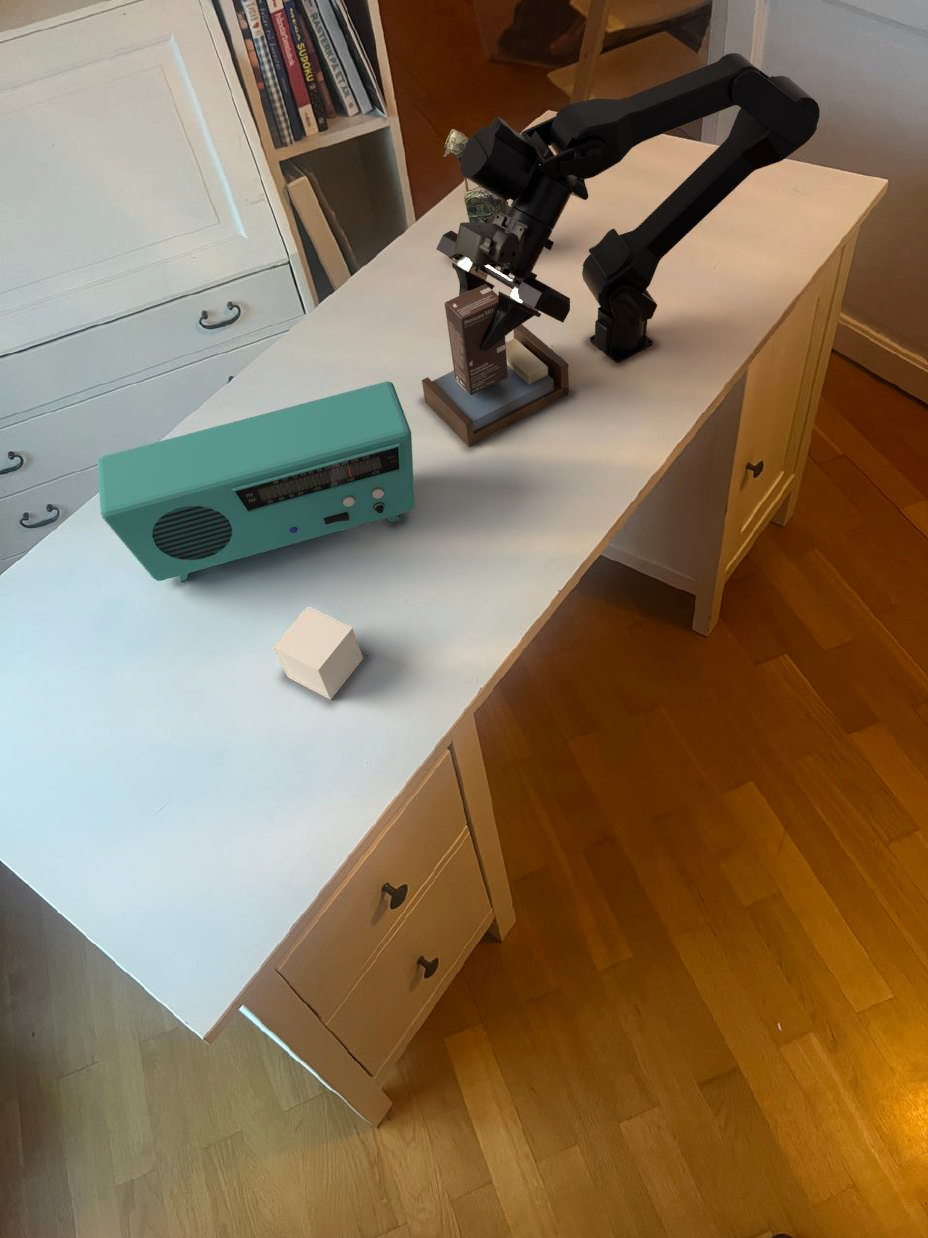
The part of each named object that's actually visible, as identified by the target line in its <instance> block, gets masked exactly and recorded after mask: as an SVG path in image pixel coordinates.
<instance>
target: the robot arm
mask: <svg viewBox="0 0 928 1238" xmlns="http://www.w3.org/2000/svg"><path fill="white" fill-rule="evenodd" d="M735 106H737V107H739V108H740V109H739V110H738V112H737V113H736V117H735V120H734V122H733V124H732V127H731V129H730V132H729V134H728V136H727V137H726V139H725V140H724V141H723V142H722V143H721V144H720V145H719V146H717V148H716V149H715V150H714V151H713V152H712V153H711V154H710V155H709V156H708V157H707V158H706V159H705V160H704V161H703V162H702V163H701V164H700V165H699V166H698V167H696V168H695V170H694V171H692V173H690V175H689V176H688V177H687V178H686V179H684V180H683V182H681V184H680V185H678V187H676V189H674V190H673V191H672V192H671V193H670V194H669V195H668V196H667V198H664V200H663V201H662V202H661V203H660V204H659V205H658V206H657V207H656V208H655V209H654V210H653V211H652V212H651V213H650V214H649V215H648V216H647V217H646V218H645V219H644V220H643V221H642V222H641V223H640V224H638V226H637V227H636V228H634V229H633V230H630V231H626V232H624V233H621V234H619V233H618V231H617V230H616V229H615V228H611V229H610V230H608V231H606V233H605V235H604V236H603V237H602V238H601V240H600V241H599V242H598V243H597V244H595V245H594V246H592V247H590V248H589V249H588V253H589V255H588V256H587V257H586V258H585V259H584V261H583V264H582V273H581V275H582V280H583V281H584V283H585V285H586V286H587V289H588V290H589V291H590V293H591V295H592V296H593V297H594V300H595V301H596V302H597V304H598V305H599V307H598V308H597V319H596V320H595V322H594V323H595V324H594V334H593V335H591V336H590V337H589V342H590V343H591V344H592V345H593V346H594V347H595V348H597V349H598V350H599V351H601V352H602V353H603V354H604V355H606V356H607V357H608V358H609V359H611V360H612V361H613V362H614V363H615V364H620V363H622V362H624V361H626V360H628V359H630V358H631V357H633V356H635V355H638V354H639V353H641V352H643V351H645V350H647V349H649V348H651V347H652V346H653V345H654V340H653V339H652V338H651V337H649V336H648V335H647V330H648V321H649V320H652V318H653V316H654V314H655V312H656V310H657V307H658V304H657V302H656V301H655V299H654V298H653V297H652V295H651V293H650V292H649V291H648V288H649V286H650V285H651V283H652V281H653V278H654V276H655V273H656V271H657V268H658V265H659V263H660V261H661V260H662V259H663V258H664V257H665V256H666V255H667V254H668V253H669V252H670V251H671V250H672V249H673V248H674V247H676V245H678V244H679V242H680V241H682V240H683V239H684V238H685V237H686V236H687V235H688V234H689V233H690V232H691V231H692V230H693V229H694V228H695V227H697V225H699V224H700V223H701V222H702V221H703V220H704V219H705V218H706V217H707V216H708V215H709V214H710V213H711V212H712V211H713V210H715V208H716V207H718V205H720V204H721V203H722V202H723V201H724V200H725V199H726V198H727V197H728V196H729V195H730V194H731V193H732V192H734V190H735V189H737V188H738V186H739V185H741V183H743V182H744V181H745V180H746V179H747V178H748V177H749V176H750V175H751V174H752V173H754V172H755V171H757V170H760V169H763V168H767V167H768V166H771V165H774V164H777V163H781V162H782V161H784V160H785V159H786V158H788V157H789V156H791V155H792V154H793V153H795V152H796V151H797V150H799V149H800V148H801V147H803V146H804V145H806V144H807V143H808V141H810V139H811V138H812V137H813V136H814V134H815V133H816V131H817V130H818V123H819V120H820V111H821V110H820V107H819V103H818V102H817V101H816V100H815V99H814V98H813V97H812V96H810V95H809V94H808V93H807V92H806V91H805V90H804V89H802V88H801V87H800V86H799V84H797V83H795V82H794V81H793V80H792V79H791V78H790V77H788V76H785V75H776V76H775V75H771V76H769V75H768V74H766V73H765V72H763V71H762V70H760V68H758V67H756V65H755V66H754V65H753V64H752V63H751V62H750V61H749V60H748V59H747V58H746V57H744V56H743V54H741V53H737V52H735V53H734V52H731V53H727V54H725V55H723V56H722V57H720V58H719V60H717V61H716V62H713V63H710V64H707V65H705V66H703V67H700V68H697V69H695V70H692V71H690V72H688V73H685V74H683V75H680V76H678V77H675V78H672V79H669V80H667V81H665V82H662V83H660V84H657V85H655V86H652V87H650V88H648V89H645V90H642V91H640V92H638V93H635V94H632V95H630V96H627V97H621V98H592V99H587V100H583V101H577V102H573V103H569V104H567V105H565V106H564V107H562V108H561V109H559V110H558V111H557V113H556V114H555V116H553V117H550V118H549V119H546V120H544V121H542V122H540V123H538V124H536V125H534V126H532V127H531V126H530V127H529V128H527V129H524V130H523V131H522V132H520V133H519V132H518V131H516V130H515V129H513V128H511V126H510V125H509V124H508V123H507V122H506V121H505V120H503V118H501V117H499V116H495V117H494V119H492V121H491V123H490V124H489V125H485V126H482V127H481V128H480V129H479V130H477V132H475V133H474V134H472V135H471V136H470V138H468V139H469V141H468V143H467V144H466V146H465V149H464V151H463V154H462V158H461V163H460V162H459V168H460V169H459V170H460V174H461V175H462V177H463V178H464V177H465V178H467V180H469V181H470V182H472V183H473V184H475V185H477V187H478V186H480V187H482V188H483V189H485V190H487V191H488V192H490V193H491V194H493V195H495V196H496V197H498V198H500V199H501V200H505V201H506V200H507V201H509V200H511V204H510V205H509V206H510V208H509V210H508V212H507V214H505V213H503V212H501V211H500V212H499V214H497V215H496V216H495V218H494V220H493V222H492V223H483V222H467V221H466V222H460V223H459V227H458V232H455V231H454V230H449V231H447V232H445V233H444V234H442V236H441V238H440V240H439V242H438V244H437V247H436V250H437V251H438V252H440V253H441V254H443V255H445V256H447V257H448V258H449V257H450V258H452V259H453V258H454V259H456V260H458V262H456V263H454V262H452V263H451V267H452V269H453V270H455V272H456V276H457V279H458V283H459V289H458V290H459V291H458V296H459V295H461V294H462V293H464V292H466V291H469V290H473V289H475V288H478V287H480V286H482V285H484V284H487V285H488V286H489V287H490V288H491V289H492V290H493V289H494V288H495V284H493V283H491V282H489V281H487V279H488V276H490V277H491V278H493V279H494V280H496V281H498V282H500V283H501V284H503V285H504V286H506V287H507V288H510V289H511V291H510V293H509V295H507V294H506V293H503V292H501V291H500V290H499V291H498V294H497V295H498V302H499V306H498V309H497V311H496V313H495V315H494V317H493V319H492V321H491V323H490V325H489V327H488V329H487V331H486V333H485V336H484V338H483V341H482V343H481V346H480V349H482V350H484V351H487V350H489V349H490V348H491V347H492V346H494V345H495V344H496V343H497V342H499V341H500V340H501V339H502V338H504V337H505V338H506V337H507V336H508V335H509V334H510V333H511V332H512V331H514V329H515V328H517V327H518V326H520V325H521V324H522V325H524V323H526V322H528V321H529V320H530V319H532V318H533V317H537V318H540V317H541V316H542V313H543V314H545V315H546V316H549V318H553V319H554V320H556V321H559V322H560V323H563V324H564V322H565V320H566V319H567V317H568V315H569V313H570V311H571V298H570V297H569V296H567V295H565V294H563V293H561V292H560V291H558V290H556V289H555V288H553V287H552V286H549V285H548V284H546V283H544V282H542V281H541V280H538V279H537V277H538V274H536V273H535V272H533V271H534V269H535V266H536V264H537V262H538V260H539V258H540V257H541V255H542V252H543V251H544V249H547V250H548V251H551V250H552V248H553V246H554V244H555V242H554V241H553V240H551V239H549V238H550V237H551V235H552V233H553V231H554V230H555V227H556V225H557V224H558V222H559V220H560V218H561V215H562V214H563V212H564V210H565V208H566V206H567V204H568V202H569V200H570V198H571V196H574V197H576V198H578V199H581V200H583V201H586V200H588V199H589V193H588V188H587V186H586V185H587V184H586V180H588V179H592V178H595V177H597V176H598V175H601V174H602V173H604V172H606V171H607V170H609V169H611V168H612V167H614V166H615V165H617V164H619V163H620V162H622V160H623V159H624V158H625V157H626V156H627V155H628V154H629V152H630V151H631V150H632V149H634V148H635V147H636V146H638V145H640V144H641V143H643V142H646V141H648V140H651V139H653V138H656V137H658V136H661V135H664V134H665V133H669V132H671V131H673V130H676V129H679V128H681V127H683V126H686V125H689V124H691V123H694V122H697V121H699V120H701V119H704V118H706V117H709V116H711V115H714V114H717V113H718V112H719V113H720V112H722V111H724V110H726V109H729V108H731V107H735ZM550 147H551V148H550ZM553 151H554V152H553ZM554 153H555V154H554ZM450 258H449V259H450ZM452 259H451V260H452ZM496 267H499V268H500V269H497V268H496ZM510 275H512V276H513V277H511V276H510Z"/></svg>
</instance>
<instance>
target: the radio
mask: <svg viewBox="0 0 928 1238" xmlns="http://www.w3.org/2000/svg"><path fill="white" fill-rule="evenodd" d="M413 462H414V461H413V441H412V430H411V428H410V424H409V423H408V420H407V417H406V415H405V412H404V409H403V406H402V404H401V401H400V398H399V396H398V392H397V390H396V388H395V385H394V383H393V382H391V381H383V382H380V383H375V384H372V385H368V386H364V387H360V388H357V389H353V390H349V391H344V392H341V393H338V394H333V395H330V396H326V397H321V398H319V399H315V400H311V401H307V402H304V403H299V404H295V405H292V406H289V407H285V408H281V409H277V410H273V411H270V412H266V413H262V414H258V415H255V416H251V417H247V418H243V419H238V420H236V421H232V422H228V423H224V424H220V425H217V426H213V427H208V428H204V429H201V430H198V431H193V432H190V433H187V434H183V435H182V434H181V435H179V436H175V437H171V438H168V439H167V438H166V439H164V440H159V441H156V442H153V443H148V444H144V445H141V446H137V447H133V448H128V449H125V450H121V451H118V452H114V453H111V454H107V455H103V456H100V457H99V458H98V461H97V475H98V491H99V494H98V495H99V509H100V515H101V518H102V519H103V520H104V522H105V523H106V524H107V526H108V527H109V528H110V529H111V530H112V532H113V533H114V534H115V535H116V536H117V537H118V538H119V540H120V541H121V542H122V543H123V545H124V546H125V547H126V548H127V549H128V550H129V551H130V553H131V554H132V555H133V556H134V557H135V559H136V560H137V561H138V562H139V564H141V566H142V567H143V568H144V570H146V572H147V573H148V574H149V575H150V576H151V578H152V579H154V580H155V581H157V582H161V581H166V580H169V579H172V578H177V577H178V579H179V580H178V581H179V582H183V581H186V580H187V579H188V575H189V574H190V573H193V572H197V571H201V570H204V569H208V568H212V567H215V566H219V565H222V564H226V563H229V562H233V561H237V560H240V559H244V558H248V557H251V556H255V555H259V554H262V553H265V552H270V551H273V550H277V549H279V548H284V547H287V546H291V545H295V544H299V543H302V542H305V541H309V540H313V539H316V538H320V537H323V536H326V535H331V534H334V533H337V532H340V531H344V530H348V529H352V528H356V527H360V526H362V525H363V526H364V525H366V524H370V523H374V522H376V521H381V520H384V519H386V520H387V519H388V520H389V521H391V522H392V523H394V522H399V521H400V517H399V516H398V515H402V514H406V513H409V512H411V511H413V510H414V508H415V485H414V484H415V483H414V463H413Z"/></svg>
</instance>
